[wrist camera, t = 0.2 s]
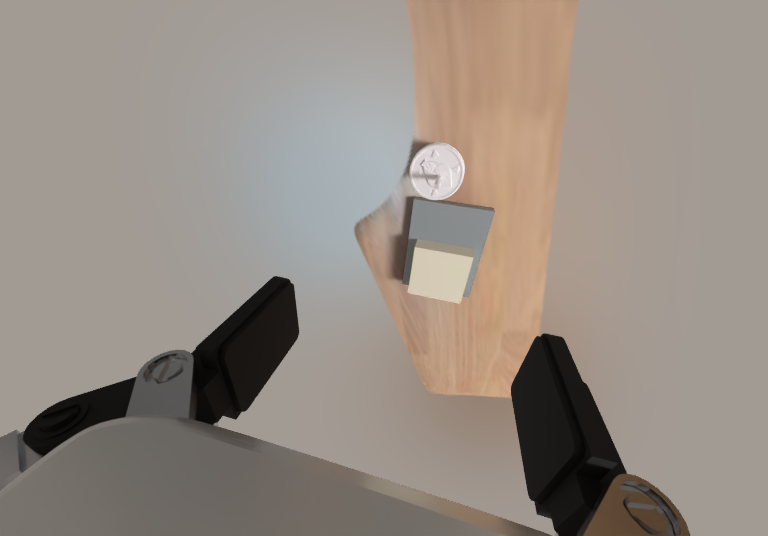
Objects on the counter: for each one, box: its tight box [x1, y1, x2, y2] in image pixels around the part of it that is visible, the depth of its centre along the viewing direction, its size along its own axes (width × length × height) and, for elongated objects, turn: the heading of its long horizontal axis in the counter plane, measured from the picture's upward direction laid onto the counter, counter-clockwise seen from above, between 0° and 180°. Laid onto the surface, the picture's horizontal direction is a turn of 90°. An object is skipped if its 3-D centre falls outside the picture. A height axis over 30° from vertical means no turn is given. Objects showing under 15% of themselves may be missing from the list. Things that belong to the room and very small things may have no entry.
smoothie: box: [409, 143, 465, 200], centre depth 34 cm, size 6×6×14 cm
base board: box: [402, 196, 495, 304], centre depth 45 cm, size 16×12×4 cm
